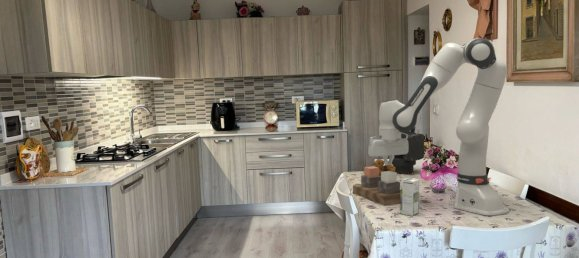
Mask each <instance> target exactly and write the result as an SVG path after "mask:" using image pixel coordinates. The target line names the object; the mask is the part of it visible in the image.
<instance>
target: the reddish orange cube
mask: <svg viewBox="0 0 579 258" xmlns="http://www.w3.org/2000/svg"><path fill="white" fill-rule="evenodd" d="M363 170H364V171H363V172H364V174H363V175H364V176H366V177H369V178H372V177H379V168H378V167H374V165H371V166H364V169H363Z"/></svg>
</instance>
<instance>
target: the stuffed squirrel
mask: <svg viewBox="0 0 579 258" xmlns="http://www.w3.org/2000/svg"><path fill="white" fill-rule="evenodd" d="M371 166H374V167H378V168H379V176H381V172H384V171H392V172H395V167H394V166H393V165H385V164H384V160H383V158H377V159H376V160H374V162H373V163H372V164H371Z"/></svg>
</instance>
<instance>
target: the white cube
mask: <svg viewBox="0 0 579 258" xmlns="http://www.w3.org/2000/svg"><path fill="white" fill-rule="evenodd" d="M397 175H398V174H397V173H396V172H392V171H384V172H381V181H382V182H385V183H394V182H397V181H398V180H397Z"/></svg>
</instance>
